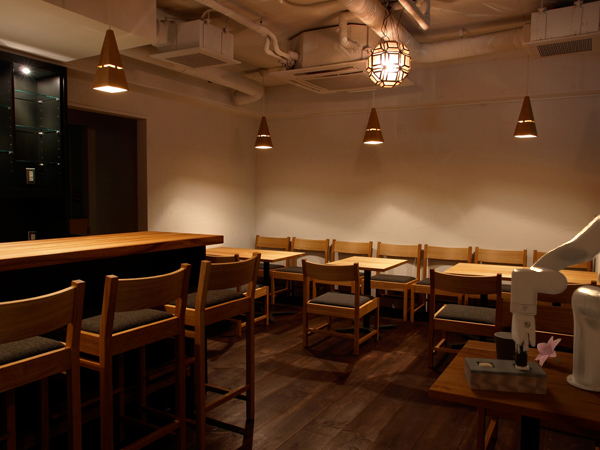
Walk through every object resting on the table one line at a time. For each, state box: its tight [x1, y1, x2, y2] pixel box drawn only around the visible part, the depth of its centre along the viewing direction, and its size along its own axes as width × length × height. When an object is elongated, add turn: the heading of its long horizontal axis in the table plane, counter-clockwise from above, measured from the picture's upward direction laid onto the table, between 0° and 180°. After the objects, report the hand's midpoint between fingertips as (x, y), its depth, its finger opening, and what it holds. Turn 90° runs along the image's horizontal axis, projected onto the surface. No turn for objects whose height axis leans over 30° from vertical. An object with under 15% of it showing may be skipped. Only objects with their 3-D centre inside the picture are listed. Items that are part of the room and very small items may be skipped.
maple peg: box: [479, 363, 492, 368], centre depth 153 cm, size 4×4×6 cm
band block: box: [464, 357, 548, 395], centre depth 152 cm, size 22×12×6 cm, turn 79°
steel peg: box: [515, 364, 529, 370], centre depth 151 cm, size 4×4×6 cm
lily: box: [534, 336, 562, 367], centre depth 172 cm, size 12×12×10 cm
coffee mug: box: [494, 331, 516, 361], centre depth 174 cm, size 12×9×10 cm
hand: (521, 365), depth 151 cm, fingers closed
